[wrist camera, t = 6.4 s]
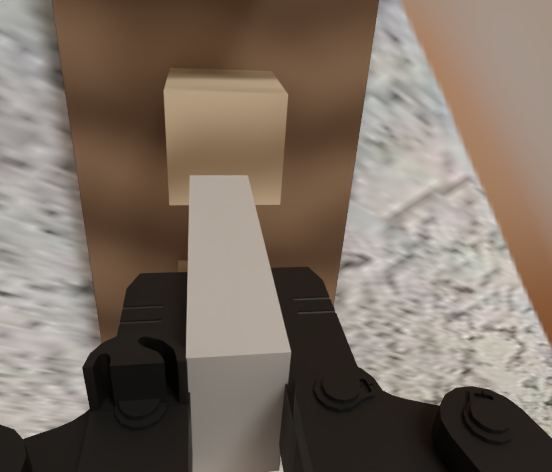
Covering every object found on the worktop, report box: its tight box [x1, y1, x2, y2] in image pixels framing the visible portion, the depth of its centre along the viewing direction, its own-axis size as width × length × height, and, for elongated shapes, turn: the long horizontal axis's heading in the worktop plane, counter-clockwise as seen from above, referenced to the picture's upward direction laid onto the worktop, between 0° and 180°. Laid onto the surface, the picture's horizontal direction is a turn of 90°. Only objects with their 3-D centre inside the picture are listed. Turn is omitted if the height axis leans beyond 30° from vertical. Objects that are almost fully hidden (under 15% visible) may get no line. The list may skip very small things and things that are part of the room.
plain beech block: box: [164, 68, 288, 205], centre depth 23 cm, size 5×5×5 cm
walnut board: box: [52, 0, 379, 343], centre depth 26 cm, size 34×15×2 cm, turn 176°
